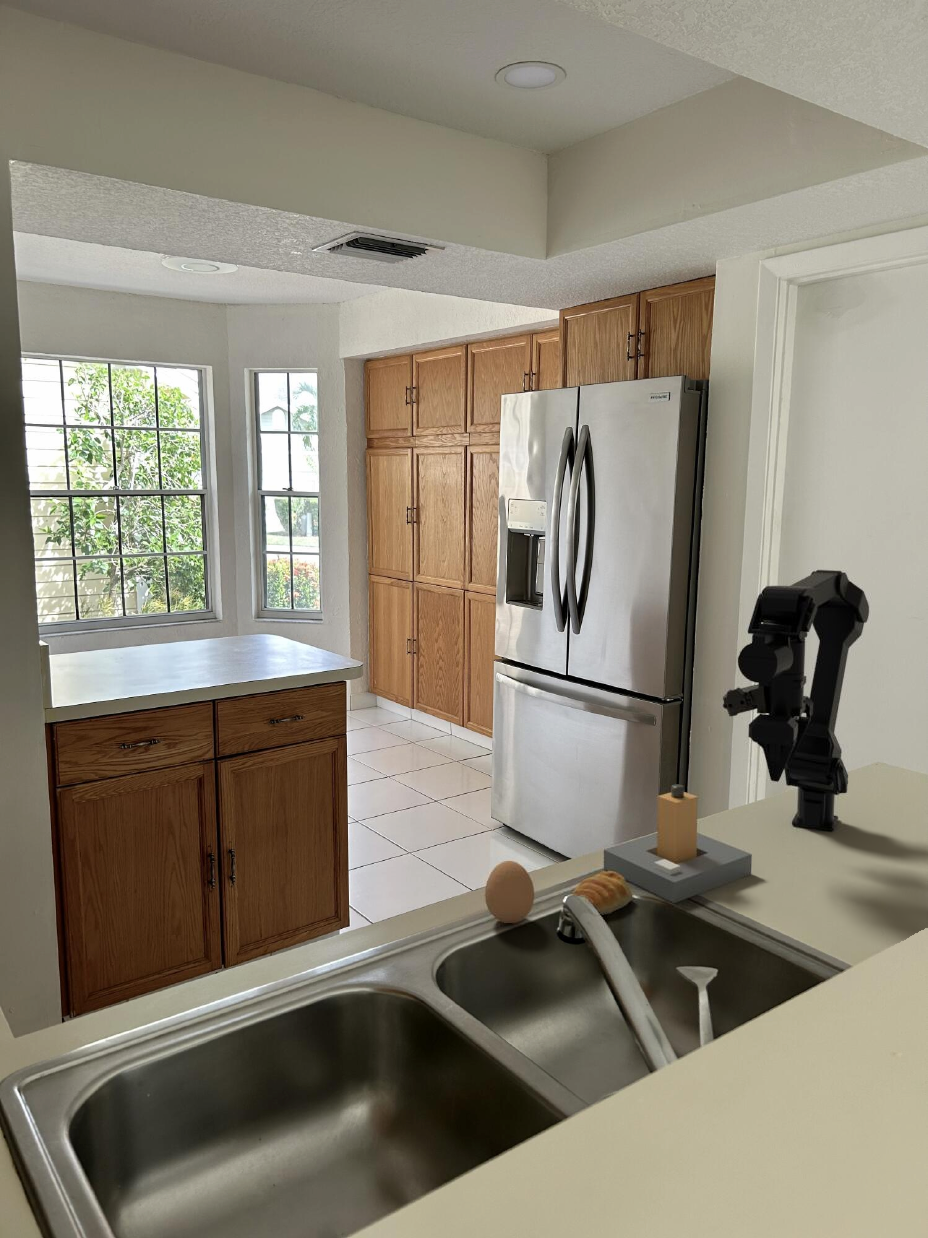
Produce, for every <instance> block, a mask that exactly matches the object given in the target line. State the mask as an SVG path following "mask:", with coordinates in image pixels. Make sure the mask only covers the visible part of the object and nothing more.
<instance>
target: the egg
mask: <svg viewBox="0 0 928 1238" xmlns="http://www.w3.org/2000/svg"><path fill="white" fill-rule="evenodd" d="M484 889H485V890H484V900H485V904H486V907H487V909H488V911H489V913H490V914H491V915H492V916H493V917H494V918H495V919H496V920H497V919H498V921H499V920H500V921H499V922H501V921H502V922H501V923H503V922H505V923H504V924H506V923H513V924H517V923H520V922H521V921H523V920H524V919H525V918H526V917H527V916H528V915H529V913H530V912H531V910H532V909H533V906H534V901H535V887H534V884H533V880H532V878H531V877H530V874H529V873H528V871H527V870H526V869H525V868H524V866H523V865H521V864H520V863H518V862H516V861H513V860H505V861H502V862H500V863H499V864H497V865H496V866H495V867H494V868H493V869H492V870H491V872H490V874H489V876H488V879H487V881H486V885H485V887H484Z"/></svg>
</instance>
